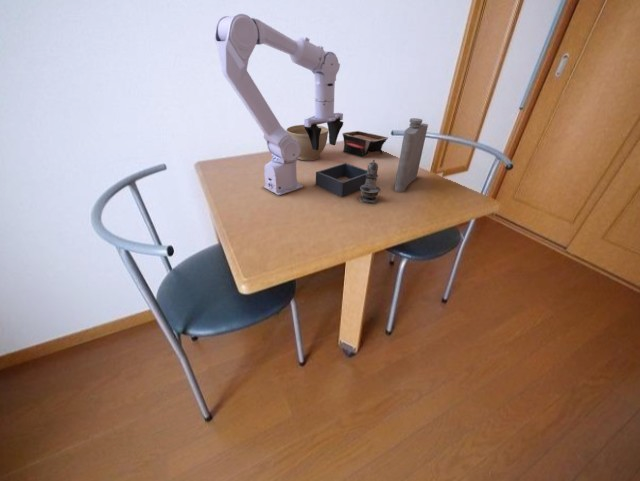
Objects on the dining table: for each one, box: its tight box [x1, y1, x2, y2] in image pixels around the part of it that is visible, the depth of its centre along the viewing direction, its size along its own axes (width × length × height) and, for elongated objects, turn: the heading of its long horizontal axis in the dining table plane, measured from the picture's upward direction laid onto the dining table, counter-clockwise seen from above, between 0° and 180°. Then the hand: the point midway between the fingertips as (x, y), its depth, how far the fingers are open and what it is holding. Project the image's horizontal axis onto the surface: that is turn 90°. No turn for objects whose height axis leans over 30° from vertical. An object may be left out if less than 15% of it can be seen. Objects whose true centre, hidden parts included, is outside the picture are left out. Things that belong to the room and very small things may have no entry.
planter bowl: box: [285, 124, 329, 161], centre depth 112 cm, size 16×16×11 cm
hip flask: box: [393, 117, 429, 193], centre depth 89 cm, size 16×4×20 cm, turn 148°
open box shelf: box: [315, 162, 367, 198], centre depth 91 cm, size 14×12×4 cm
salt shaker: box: [359, 159, 381, 205], centre depth 81 cm, size 6×6×12 cm
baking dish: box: [341, 130, 389, 158], centre depth 120 cm, size 14×18×10 cm
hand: (324, 146), depth 92 cm, fingers open, 7 cm apart
